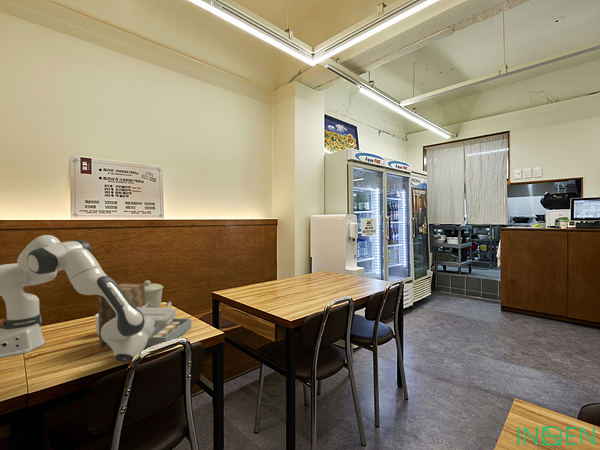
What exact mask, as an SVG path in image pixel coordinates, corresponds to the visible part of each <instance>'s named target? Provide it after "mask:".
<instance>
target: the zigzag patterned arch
mask: <svg viewBox="0 0 600 450" xmlns="http://www.w3.org/2000/svg"><path fill="white" fill-rule="evenodd" d="M118 286H119V287H120V288H121V289H122V291H123V292H124V294H125V295H126V296H127V298H128V299H129V300H130V302H131V303H132V304H133V305H134V306H135V307H141V308H142V306H144V305H145V284H144V283H119V284H118ZM97 298H98V303H97V304H98V314H99V336H98V342H99V347H98V348H99V349H103V348H105V347H107V346H109V345H108V344H107V343H105V342H104V341H103V340H102V338H101V335H100V331H101V328H102V326H103V325H104V324H105V323H107V322H108V321H110V320H111V319H113V318H115V317H116V313H115V311H114V310H113V308H112V307H111V306H110V304H109V303H108V302H107V300H106V299H105V298H104V297H103V296H101V295H98V297H97Z"/></svg>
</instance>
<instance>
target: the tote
mask: <svg viewBox="0 0 600 450" xmlns="http://www.w3.org/2000/svg"><path fill="white" fill-rule="evenodd" d="M172 322H179V327H178V328H176V329H175V330H174V331H172V332H171V333H170V334H168V335H167V336H166V337H153V336H154V335H156V334H157V333H159V332H160V331H161V330H163V329H164V328H165V327H157V328H156V329H155V331H154V333H153V334H152V336H151V338H150V339H148V341H147V344H146V346H145V348H144V349H149V348H148V347H151V346H153V345H156V344H159V343H162V342H166V341H170V340H172V339H176V338H178V339H180V338H181V337H182V336H183V335H185V334H186V333H187V332H188V331H190V330H191V329H192V318H181V317H180V318H174V319H173V320H172ZM172 322H171V323H172ZM171 323H170V324H171ZM166 327H167V326H166ZM190 328H191V329H190ZM180 336H181V337H180ZM179 337H180V338H179Z"/></svg>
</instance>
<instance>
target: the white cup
mask: <svg viewBox="0 0 600 450" xmlns="http://www.w3.org/2000/svg"><path fill="white" fill-rule="evenodd" d="M94 321H95V328H96V329H95V330H96V335H97V336H98V337H99V313H96V314H95V315H94Z"/></svg>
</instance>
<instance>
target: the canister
mask: <svg viewBox="0 0 600 450" xmlns="http://www.w3.org/2000/svg"><path fill="white" fill-rule="evenodd" d="M143 284H145V305H146V304H147V303H148V302H152V303H153V304H152V306H151V307H148V308H162V307H161V306H162V296H163V289H164V286H163V285H162V284H159V283H151V281H150V280H145V281H144V282H143Z"/></svg>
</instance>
